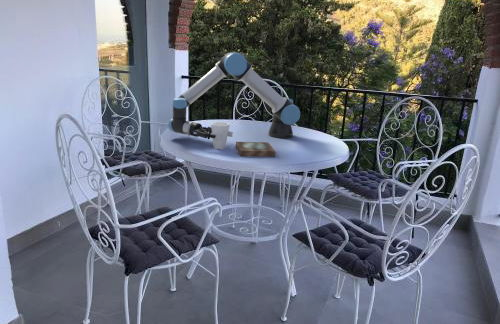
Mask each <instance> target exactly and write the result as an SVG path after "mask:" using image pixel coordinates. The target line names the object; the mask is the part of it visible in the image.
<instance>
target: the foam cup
mask: <svg viewBox="0 0 500 324" xmlns="http://www.w3.org/2000/svg"><path fill="white" fill-rule="evenodd" d="M210 127H211V128H212V133H215V134H220V135H222V140H217V139H212V145H213V146H212V147H213V149H215V150H224V149H226V146H227V140H228V137H229V136H228V131H229V129H230V123H228V122H225V121H214V122H211V124H210Z"/></svg>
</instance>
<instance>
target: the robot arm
mask: <svg viewBox="0 0 500 324" xmlns="http://www.w3.org/2000/svg"><path fill="white" fill-rule="evenodd" d="M228 76H232V77H233V78H234V79H235V80H236V81H237V82H242V83H244V84H245V86H246V87H248V88H249V89H250V90H251V91H252V92H253V93H255V95H257V97H259V98H260V99H261V100H262V101H264V103H265V104H267V105H268V106H269V107H270V109H271V113H272V118H271V119H272V121H271V124H270V127H269V130H268V136H270V137H272V138H277V139H288V138H289V139H290V138H292V137H293V136H294V133H293V132H294V131H293V127H292V126H293V125H295V124H296V123H297V122H299V120H300V117H301V111H300V109H299V107H298V105H295V104H294V100H293V98H287V97H283V96H282V95H280V94H279V93H278V92H277V91H276V90H275V89H274V88H273V87H272V86H271V85H270V84H269V83H268V82H267V81H266V80H265V79H263V78H262V76H261V75H259V74H258V73H257V72H256V71H255V70H253V65H252V64H251V63H250V62H249V61H248V59H246V58H245V56H244V55H243V54H242V53H239V52H236V51H229V52H227V53H225V54H224V56H222V57H221V59H219V60H218V62H216V63H215V66H214V67H213V68H212V69H211V70H209V71H208V72H207V73H206V74H205V75H203V76H202V77H201V78H200V79H198V80H197V81H196V82H195V83H193V84H192V85H191V86H190V87H189V88H188V89H186V90H185V92H183V93H182V94H180V95H179V96H178V97H174V98H173V99H172V118H171V119H169V120H168V124H167V127H168V129H169V131H171V132H173V133H176V134H182V135H187V136H188V137H190V136H192V137H197V138H198V137H200V138H203V139H207V140H211V139H212V140H213V139H217V140H222V135H220V134H215V133H212V128H211V126H207V127H206V126H203V125H202V124H201V123H198V122H194V121H191V120H190V121H189V120H187V108H188V107H189V106H191V104H192V103H194V102H195V101H196V100H198V98H200V97H201V96H202V95H204V94H205V93H206V92H207V91H208V90H210V89H211V88H212V87H213V86H214V85H216V84H217V83H218V82H220V81H221V80H222V79H223V78H227V77H228ZM233 133H234V131H229V130H228V136H227V137H230V138H233V135H234V134H233Z"/></svg>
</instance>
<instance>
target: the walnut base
mask: <svg viewBox="0 0 500 324" xmlns="http://www.w3.org/2000/svg"><path fill="white" fill-rule="evenodd" d="M235 149H236V151H237V153H238V156H239V157H248V156H249V158H250V157H253V158H254V157H255V158H256V157H258V158H260V157H261V158H262V157H263V158H264V157H265V158H268V157H269V158H276V150H275V149H274V147H273V146H272V145H271V143H270V142H268V141H267V142H266V141H235Z"/></svg>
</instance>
